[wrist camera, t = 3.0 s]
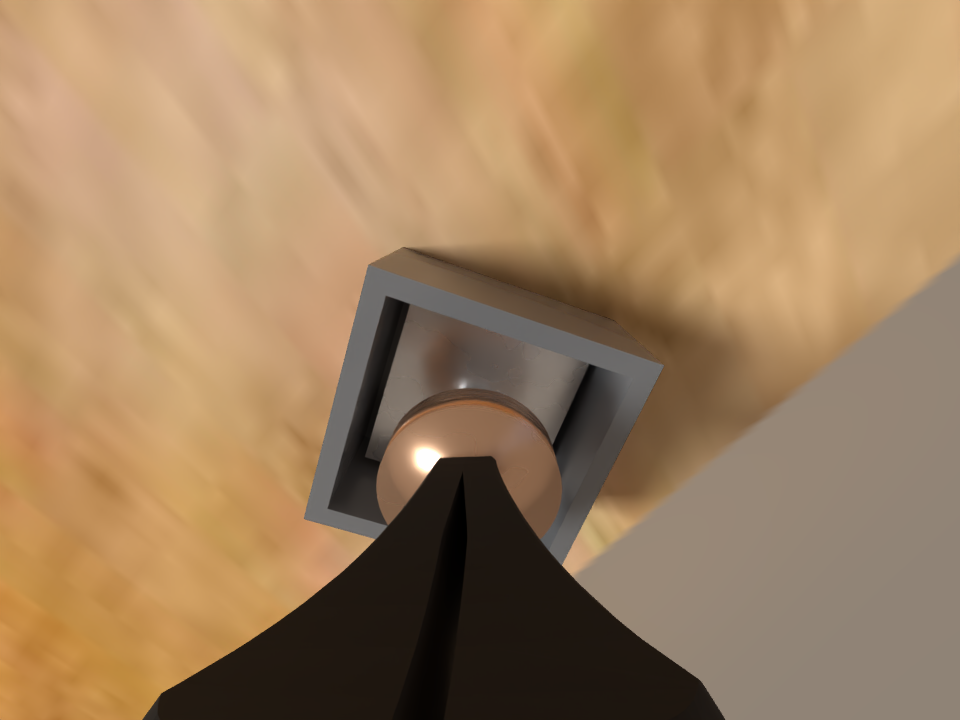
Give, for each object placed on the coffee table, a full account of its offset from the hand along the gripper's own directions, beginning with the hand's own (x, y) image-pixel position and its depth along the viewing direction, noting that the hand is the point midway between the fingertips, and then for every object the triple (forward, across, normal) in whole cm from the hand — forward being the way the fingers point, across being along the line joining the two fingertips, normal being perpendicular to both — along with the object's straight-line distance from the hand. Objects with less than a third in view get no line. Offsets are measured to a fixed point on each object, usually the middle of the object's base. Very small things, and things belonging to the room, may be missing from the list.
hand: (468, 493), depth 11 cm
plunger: (+5, 0, 0) cm, 5 cm away
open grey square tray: (+7, 0, 0) cm, 7 cm away
